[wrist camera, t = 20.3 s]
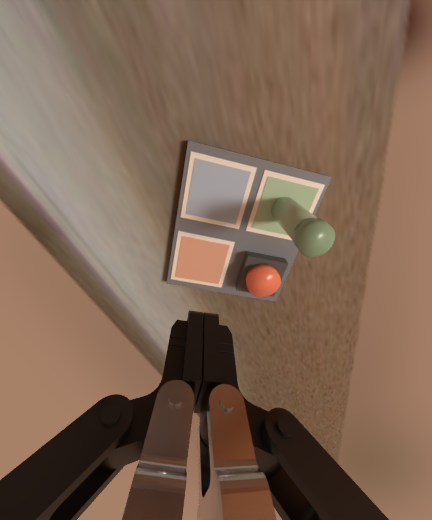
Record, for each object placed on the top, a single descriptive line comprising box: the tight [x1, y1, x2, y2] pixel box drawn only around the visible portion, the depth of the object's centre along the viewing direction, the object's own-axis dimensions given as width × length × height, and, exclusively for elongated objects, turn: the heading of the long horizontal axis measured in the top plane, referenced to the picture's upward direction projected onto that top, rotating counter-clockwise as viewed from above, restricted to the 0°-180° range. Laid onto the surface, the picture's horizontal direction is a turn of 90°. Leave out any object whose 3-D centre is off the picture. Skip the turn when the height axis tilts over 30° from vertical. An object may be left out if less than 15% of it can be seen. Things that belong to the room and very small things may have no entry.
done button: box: [245, 264, 281, 297], centre depth 33 cm, size 5×5×3 cm
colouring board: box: [167, 140, 332, 301], centre depth 31 cm, size 20×18×2 cm
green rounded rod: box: [271, 197, 335, 257], centre depth 25 cm, size 3×3×10 cm
